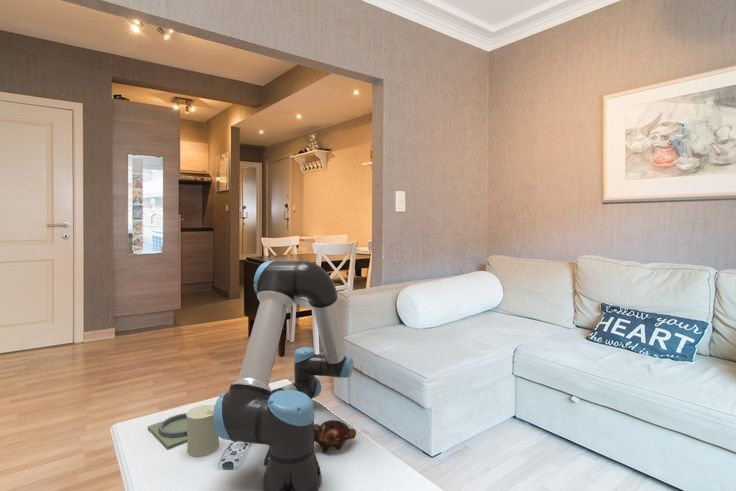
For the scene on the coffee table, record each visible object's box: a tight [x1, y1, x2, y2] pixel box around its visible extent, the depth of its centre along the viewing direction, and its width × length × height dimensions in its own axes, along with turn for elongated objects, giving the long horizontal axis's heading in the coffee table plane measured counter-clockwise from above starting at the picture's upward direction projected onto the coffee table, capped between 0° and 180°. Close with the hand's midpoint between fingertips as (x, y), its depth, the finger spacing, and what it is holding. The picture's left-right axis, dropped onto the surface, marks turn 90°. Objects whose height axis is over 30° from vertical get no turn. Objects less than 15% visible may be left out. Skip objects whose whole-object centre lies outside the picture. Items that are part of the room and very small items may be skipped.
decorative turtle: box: [314, 419, 357, 453], centre depth 124 cm, size 10×15×8 cm, turn 115°
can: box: [186, 404, 220, 457], centre depth 123 cm, size 9×9×12 cm
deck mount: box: [147, 412, 187, 450], centre depth 134 cm, size 18×16×2 cm
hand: (226, 418), depth 129 cm, fingers open, 13 cm apart
